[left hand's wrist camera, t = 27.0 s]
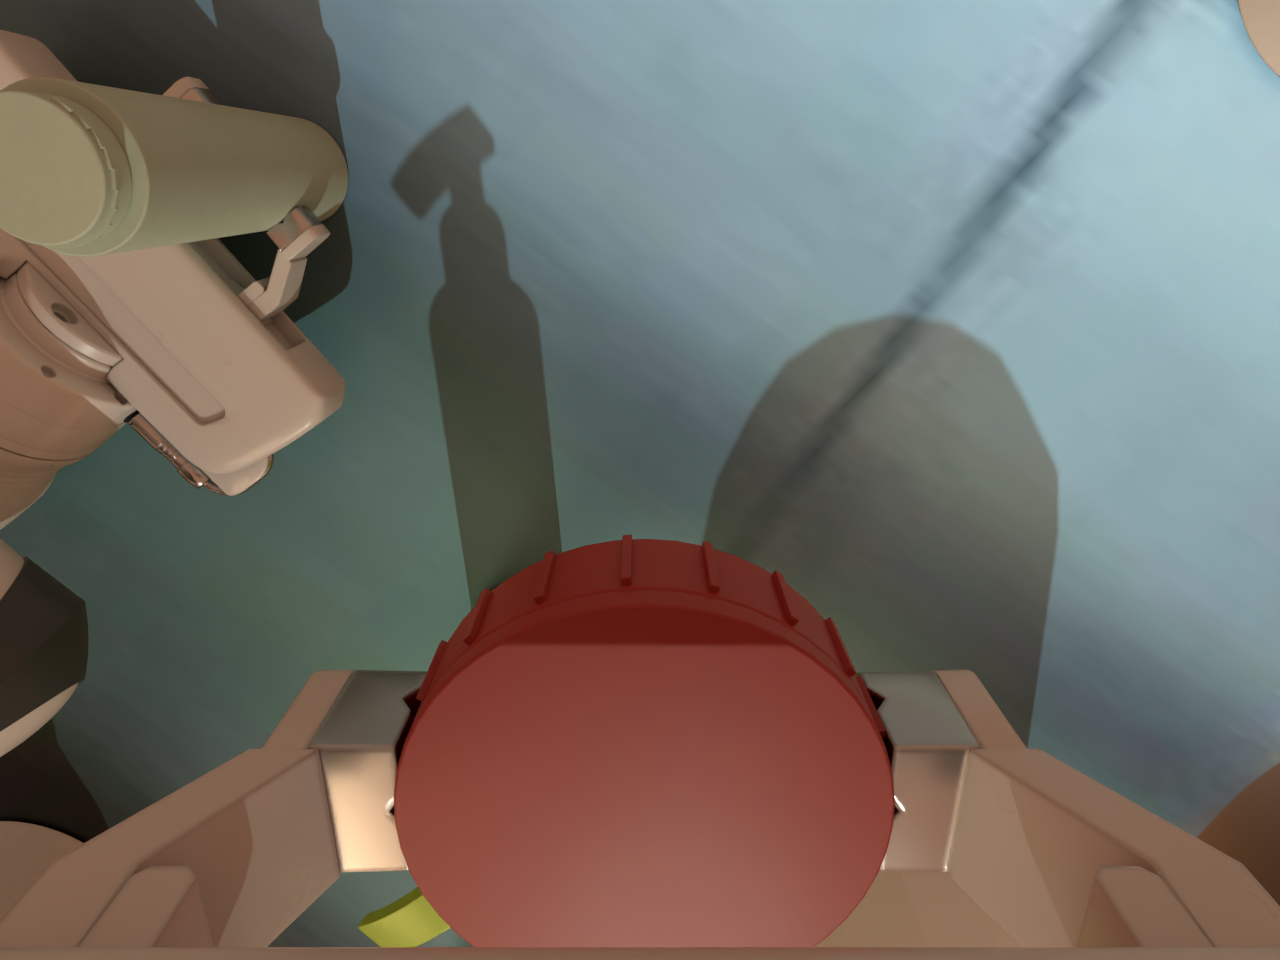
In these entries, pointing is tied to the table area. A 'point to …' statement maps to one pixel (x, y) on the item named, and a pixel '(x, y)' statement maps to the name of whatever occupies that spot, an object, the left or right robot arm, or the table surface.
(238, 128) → the jar
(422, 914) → the soap dispenser
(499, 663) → the lid
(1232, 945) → the left robot arm
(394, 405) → the table surface
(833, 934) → the container
